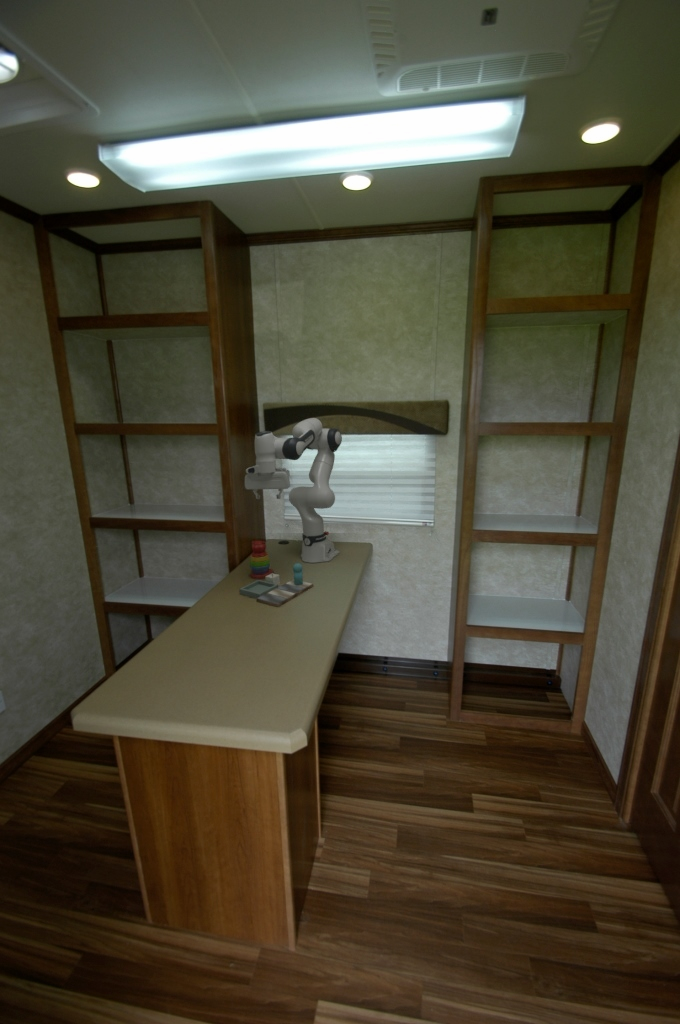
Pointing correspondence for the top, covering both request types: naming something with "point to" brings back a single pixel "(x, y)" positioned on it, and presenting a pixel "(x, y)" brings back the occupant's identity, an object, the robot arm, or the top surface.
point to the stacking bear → (259, 561)
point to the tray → (257, 588)
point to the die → (273, 578)
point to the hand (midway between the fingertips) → (268, 498)
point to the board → (284, 593)
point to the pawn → (298, 574)
